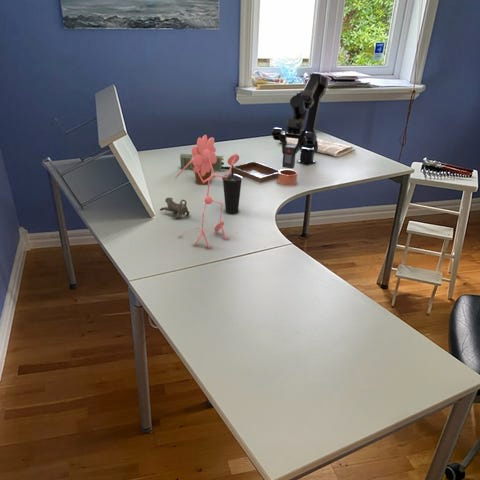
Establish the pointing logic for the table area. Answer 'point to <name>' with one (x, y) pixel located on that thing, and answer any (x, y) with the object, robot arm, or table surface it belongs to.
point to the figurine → (202, 161)
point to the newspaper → (325, 147)
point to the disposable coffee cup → (198, 180)
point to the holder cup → (287, 177)
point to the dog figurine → (176, 208)
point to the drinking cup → (232, 192)
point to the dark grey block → (288, 157)
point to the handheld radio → (187, 158)
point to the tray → (256, 171)
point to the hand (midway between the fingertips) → (288, 154)
